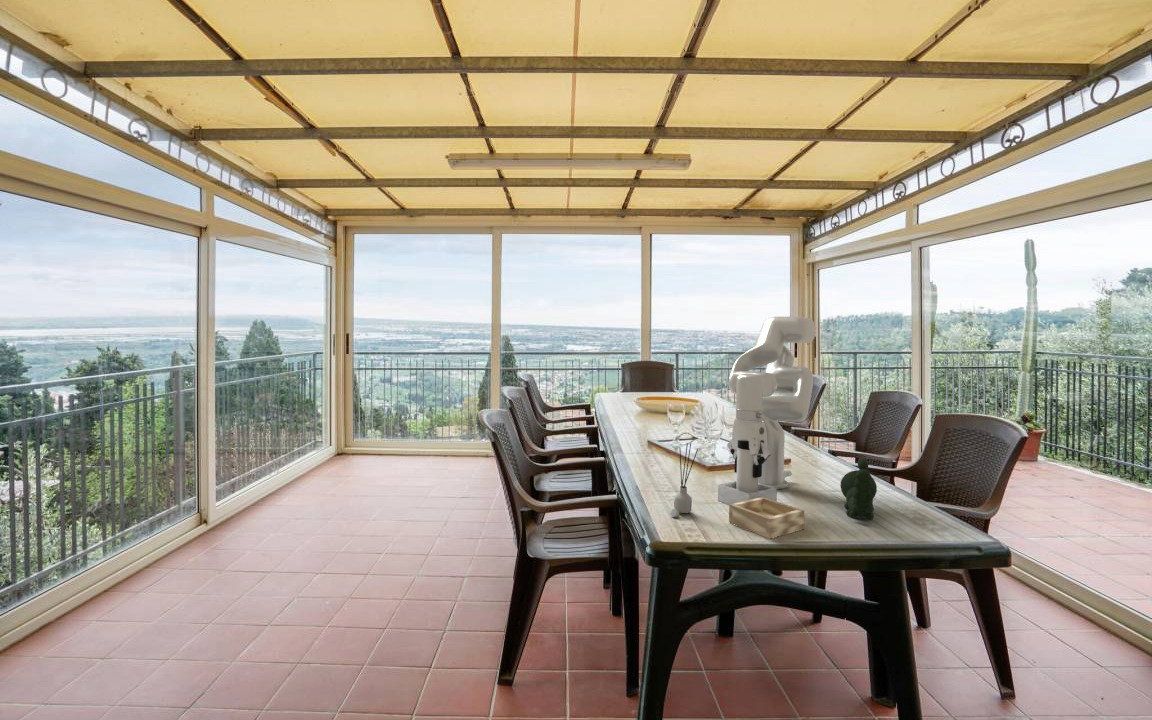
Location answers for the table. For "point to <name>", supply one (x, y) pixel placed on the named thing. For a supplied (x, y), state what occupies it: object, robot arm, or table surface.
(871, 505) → the toy figurine
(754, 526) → the light wooden tray
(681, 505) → the reed diffuser
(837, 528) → the table surface
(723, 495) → the open box
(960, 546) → the table surface
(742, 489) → the travel mug
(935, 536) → the table surface
